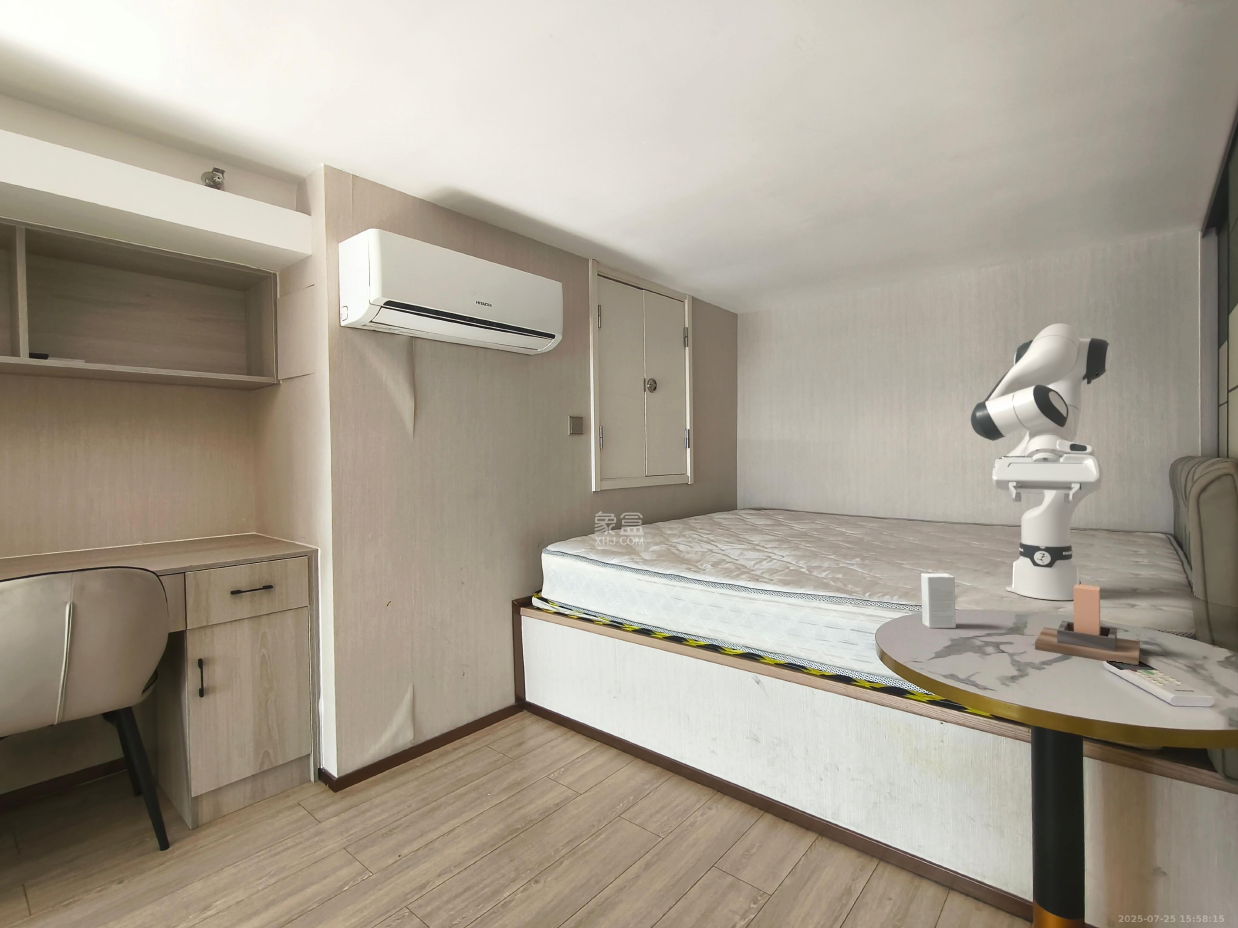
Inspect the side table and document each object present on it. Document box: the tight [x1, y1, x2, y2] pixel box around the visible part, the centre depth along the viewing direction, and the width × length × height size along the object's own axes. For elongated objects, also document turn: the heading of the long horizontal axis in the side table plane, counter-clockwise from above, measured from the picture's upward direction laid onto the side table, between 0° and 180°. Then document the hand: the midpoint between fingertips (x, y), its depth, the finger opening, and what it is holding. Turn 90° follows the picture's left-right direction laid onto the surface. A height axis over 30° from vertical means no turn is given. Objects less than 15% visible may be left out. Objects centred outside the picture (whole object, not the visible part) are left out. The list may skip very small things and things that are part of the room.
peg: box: [1073, 584, 1101, 635], centre depth 122 cm, size 4×4×11 cm
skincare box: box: [920, 572, 957, 629], centre depth 140 cm, size 6×4×12 cm
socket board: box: [1034, 620, 1141, 666], centre depth 122 cm, size 13×16×4 cm
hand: (1041, 501), depth 133 cm, fingers open, 8 cm apart
